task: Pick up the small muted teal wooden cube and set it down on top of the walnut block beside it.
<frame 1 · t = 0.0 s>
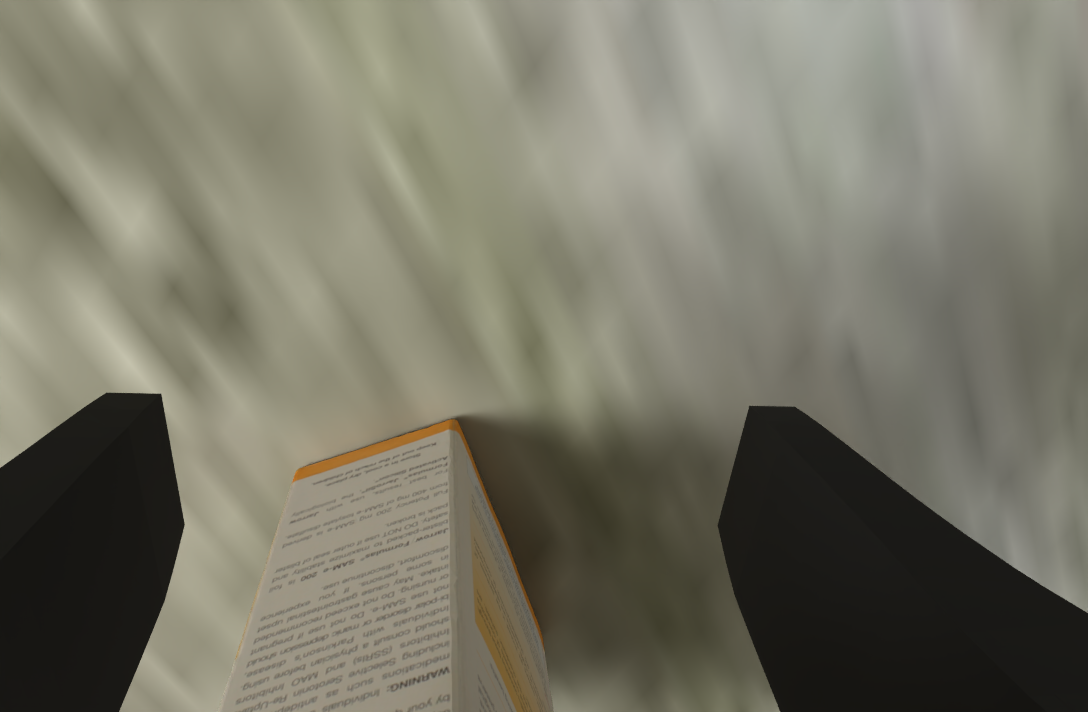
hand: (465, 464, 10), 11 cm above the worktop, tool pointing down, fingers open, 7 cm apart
supplement box: (426, 555, 24), on the worktop
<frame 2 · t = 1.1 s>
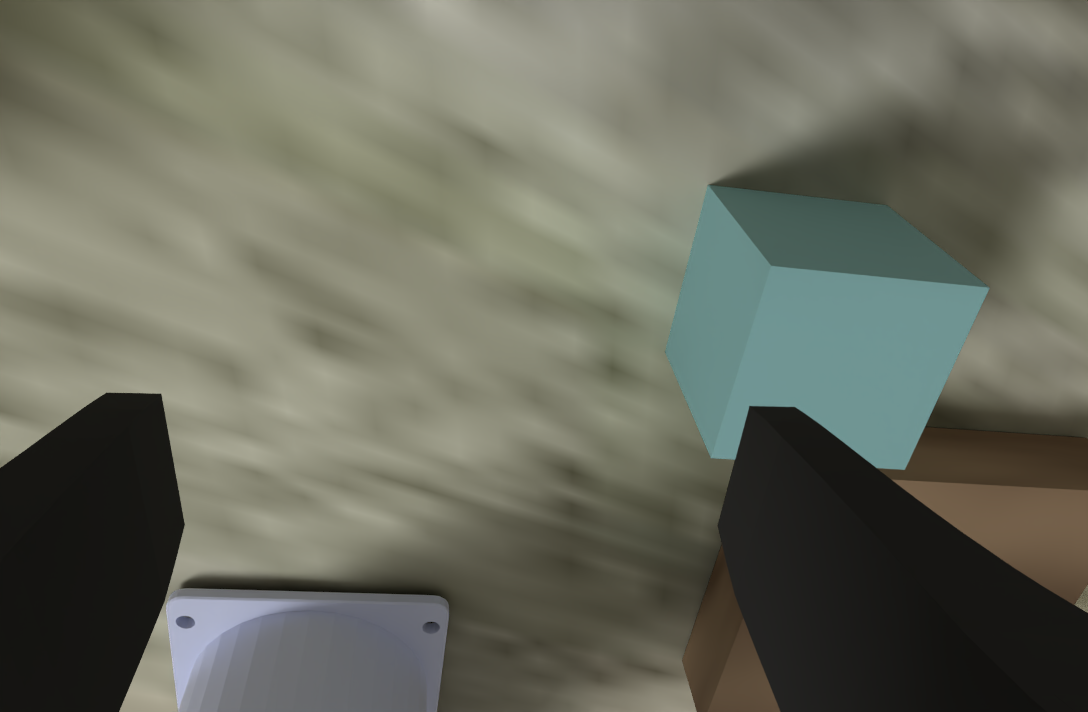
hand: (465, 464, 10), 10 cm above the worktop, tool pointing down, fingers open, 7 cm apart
walnut block: (870, 556, 26), on the worktop
teal cube: (770, 279, 21), on the worktop
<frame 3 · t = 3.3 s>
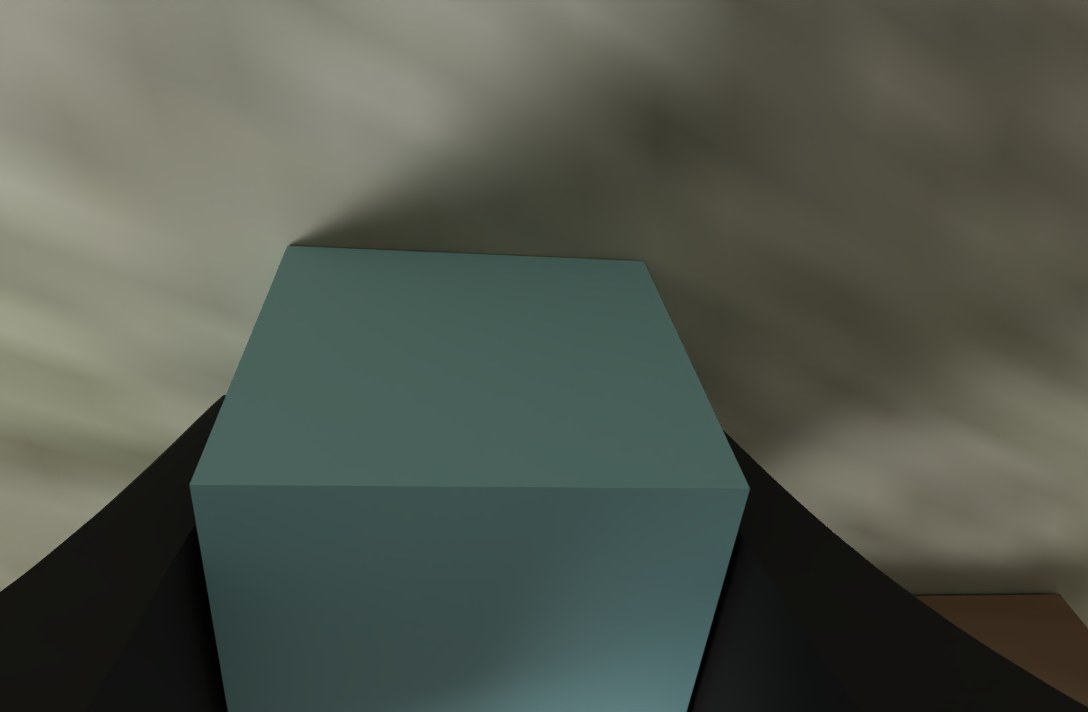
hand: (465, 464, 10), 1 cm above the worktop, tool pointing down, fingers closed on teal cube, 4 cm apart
teal cube: (463, 400, 12), on the worktop, touching gripper
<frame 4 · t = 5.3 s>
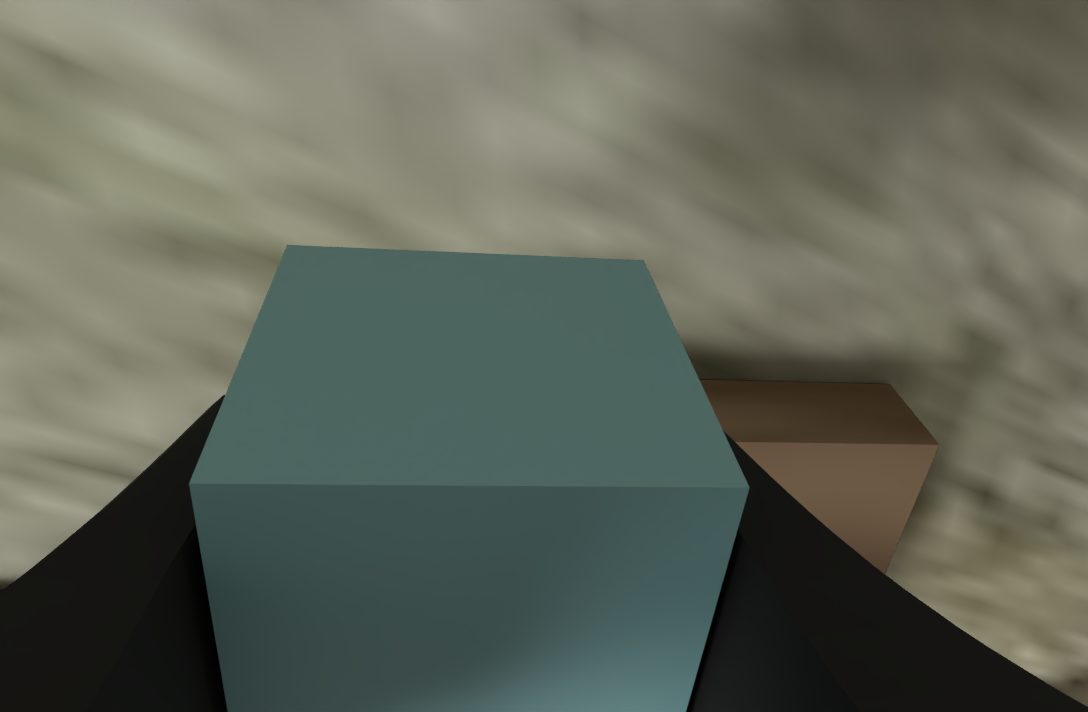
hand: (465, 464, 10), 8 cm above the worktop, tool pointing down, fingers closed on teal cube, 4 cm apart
walnut block: (665, 530, 23), on the worktop
teal cube: (463, 399, 12), point 7 cm above the worktop, touching gripper
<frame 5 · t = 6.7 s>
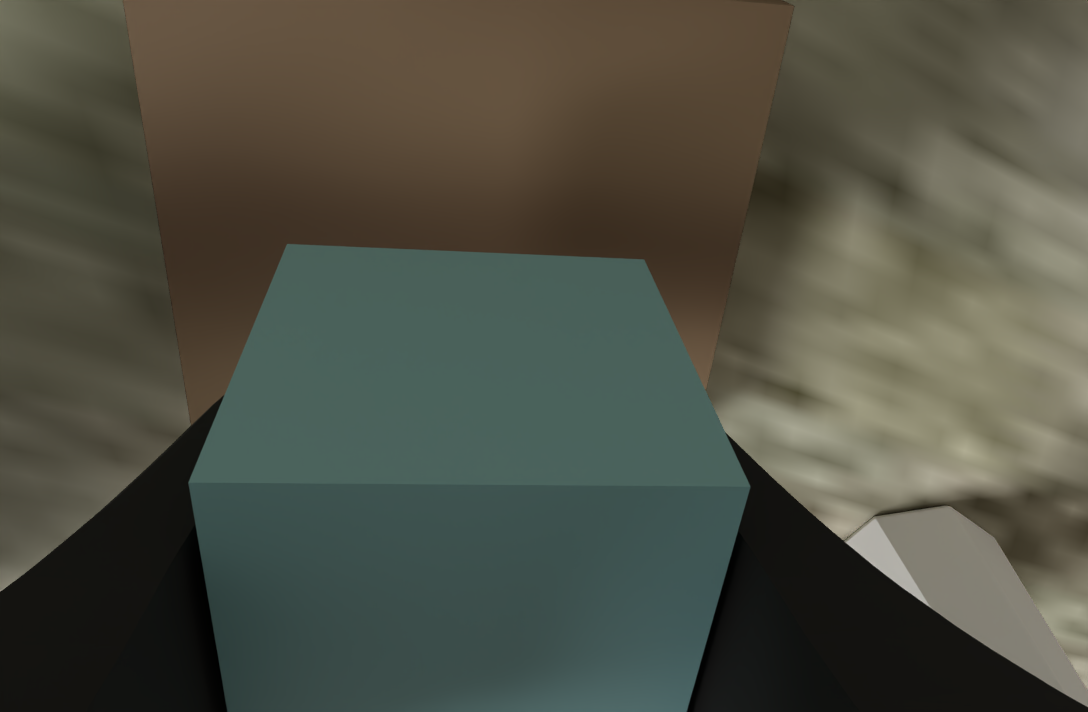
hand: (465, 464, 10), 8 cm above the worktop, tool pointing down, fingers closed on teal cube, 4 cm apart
pepper shaker: (896, 567, 24), on the worktop
walnut block: (458, 227, 17), on the worktop
teal cube: (463, 398, 12), point 6 cm above the worktop, touching gripper
when the fingers open (5 cm above the worktop, at t = 7.6 s): teal cube drops 1 cm, resting on walnut block.
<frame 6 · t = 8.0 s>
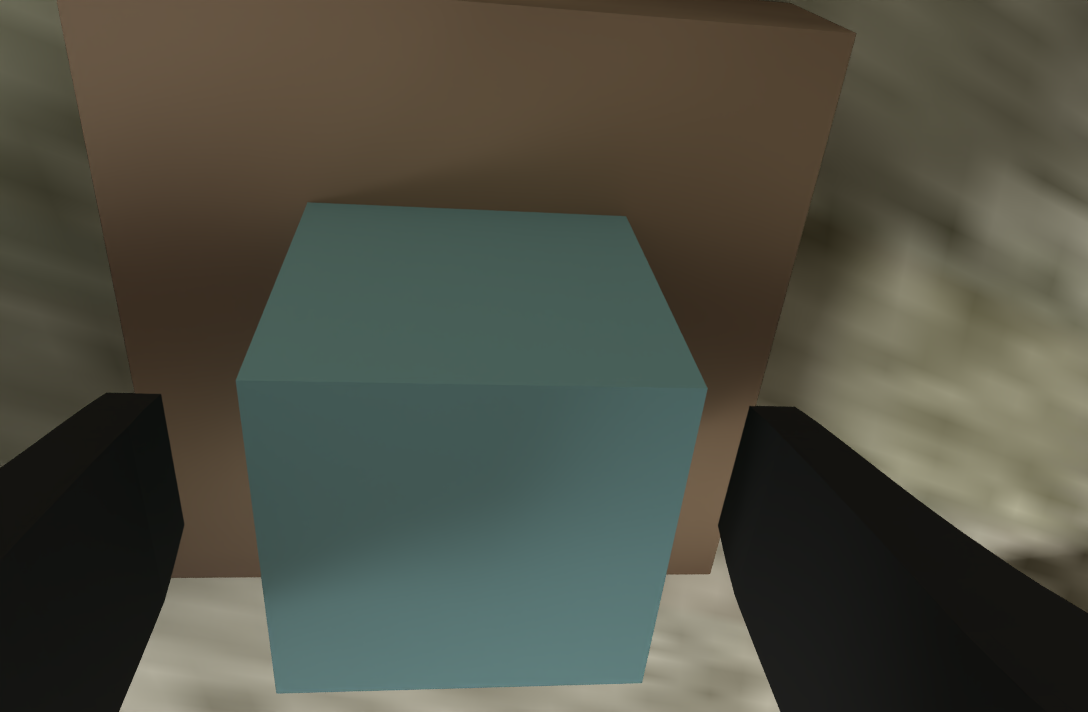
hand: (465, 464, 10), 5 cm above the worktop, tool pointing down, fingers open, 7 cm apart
walnut block: (460, 275, 15), on the worktop
teal cube: (465, 345, 13), point 2 cm above the worktop, touching walnut block
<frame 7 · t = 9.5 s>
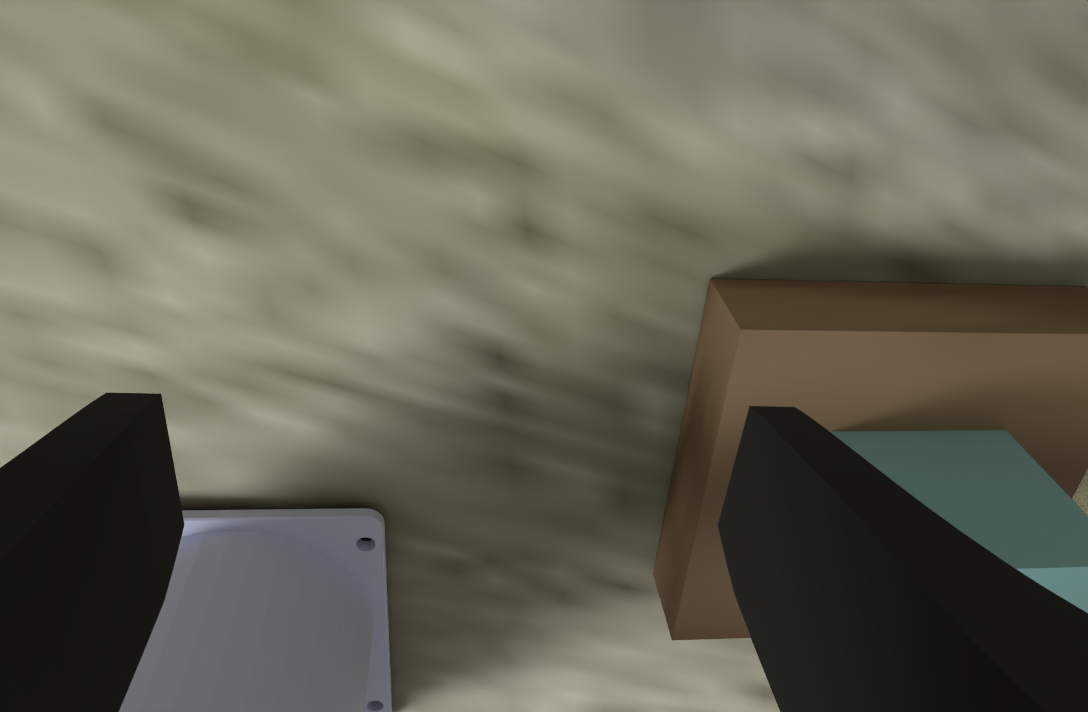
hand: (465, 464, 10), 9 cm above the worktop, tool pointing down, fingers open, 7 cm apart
walnut block: (851, 442, 23), on the worktop
teal cube: (893, 501, 21), point 2 cm above the worktop, touching walnut block
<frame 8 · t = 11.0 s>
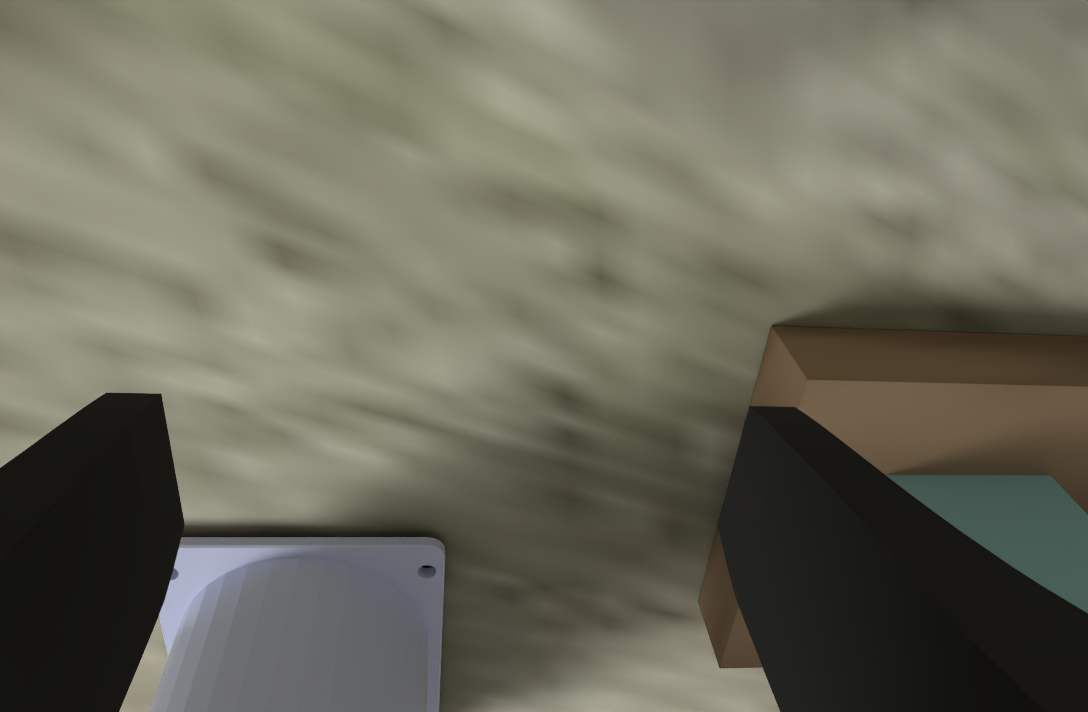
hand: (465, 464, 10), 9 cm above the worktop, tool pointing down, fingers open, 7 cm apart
walnut block: (895, 480, 24), on the worktop
teal cube: (939, 540, 22), point 2 cm above the worktop, touching walnut block
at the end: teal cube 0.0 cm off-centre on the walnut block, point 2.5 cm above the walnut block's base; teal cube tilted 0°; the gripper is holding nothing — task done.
